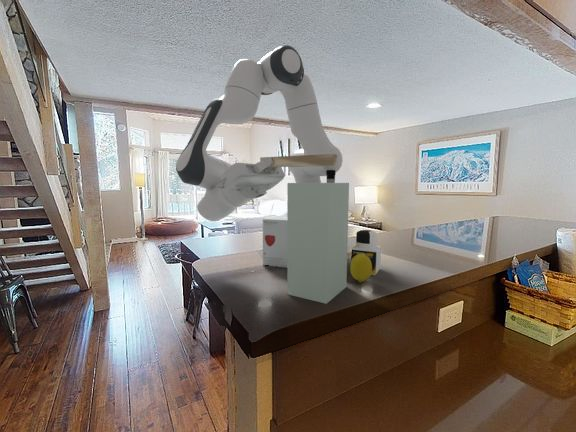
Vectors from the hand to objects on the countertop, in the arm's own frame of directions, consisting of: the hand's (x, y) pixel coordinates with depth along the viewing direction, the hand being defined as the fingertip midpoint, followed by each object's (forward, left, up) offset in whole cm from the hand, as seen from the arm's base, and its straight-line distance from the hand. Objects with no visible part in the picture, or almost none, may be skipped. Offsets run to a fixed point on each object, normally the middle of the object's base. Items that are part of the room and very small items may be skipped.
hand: (276, 160), depth 73 cm
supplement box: (-15, -9, -32) cm, 36 cm away
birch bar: (0, +6, -2) cm, 6 cm away
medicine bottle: (-22, +17, -32) cm, 42 cm away
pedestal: (0, +12, -32) cm, 34 cm away
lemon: (-11, +19, -32) cm, 39 cm away
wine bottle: (-27, +3, -32) cm, 42 cm away
